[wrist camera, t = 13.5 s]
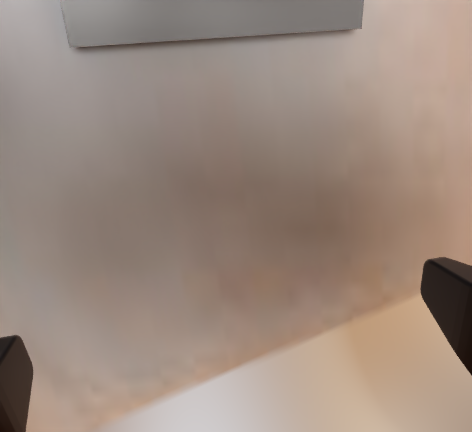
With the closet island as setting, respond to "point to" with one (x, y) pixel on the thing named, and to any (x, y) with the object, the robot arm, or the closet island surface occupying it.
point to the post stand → (201, 19)
